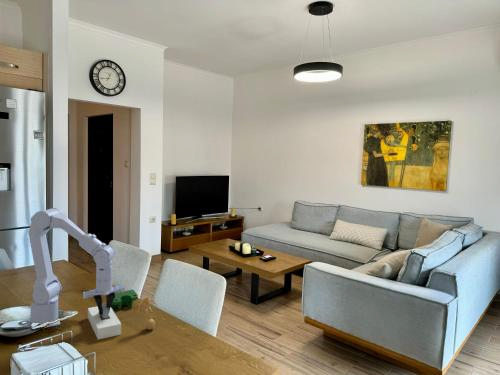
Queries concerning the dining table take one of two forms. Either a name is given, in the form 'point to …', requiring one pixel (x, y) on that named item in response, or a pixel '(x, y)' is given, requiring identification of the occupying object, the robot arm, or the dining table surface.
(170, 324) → the dining table surface
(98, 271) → the robot arm
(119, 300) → the clamp
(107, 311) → the bracket
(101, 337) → the white slotted block
